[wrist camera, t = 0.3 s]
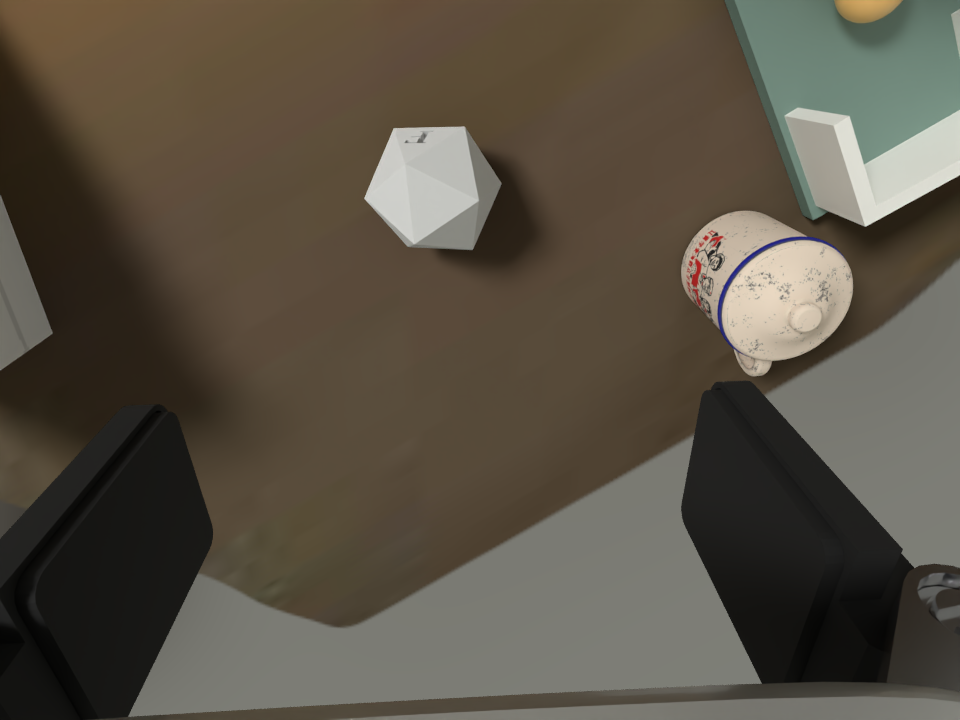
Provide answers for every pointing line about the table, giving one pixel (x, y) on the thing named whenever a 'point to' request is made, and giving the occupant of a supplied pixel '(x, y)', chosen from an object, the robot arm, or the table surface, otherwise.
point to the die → (434, 187)
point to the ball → (865, 9)
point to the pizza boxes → (17, 299)
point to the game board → (857, 100)
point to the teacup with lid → (766, 287)
